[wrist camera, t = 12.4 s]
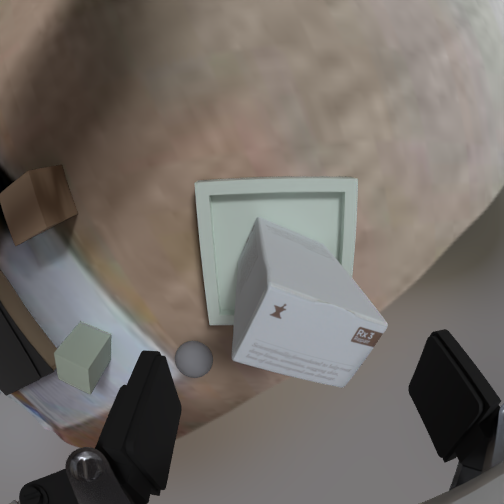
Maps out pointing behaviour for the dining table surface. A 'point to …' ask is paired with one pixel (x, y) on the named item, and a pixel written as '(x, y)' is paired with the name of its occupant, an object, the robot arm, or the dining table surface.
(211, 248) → the tray
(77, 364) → the sage block
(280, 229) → the skincare box
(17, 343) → the file folder
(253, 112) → the dining table surface
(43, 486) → the robot arm
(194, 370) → the grey ball
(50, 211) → the walnut cube
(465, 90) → the dining table surface
